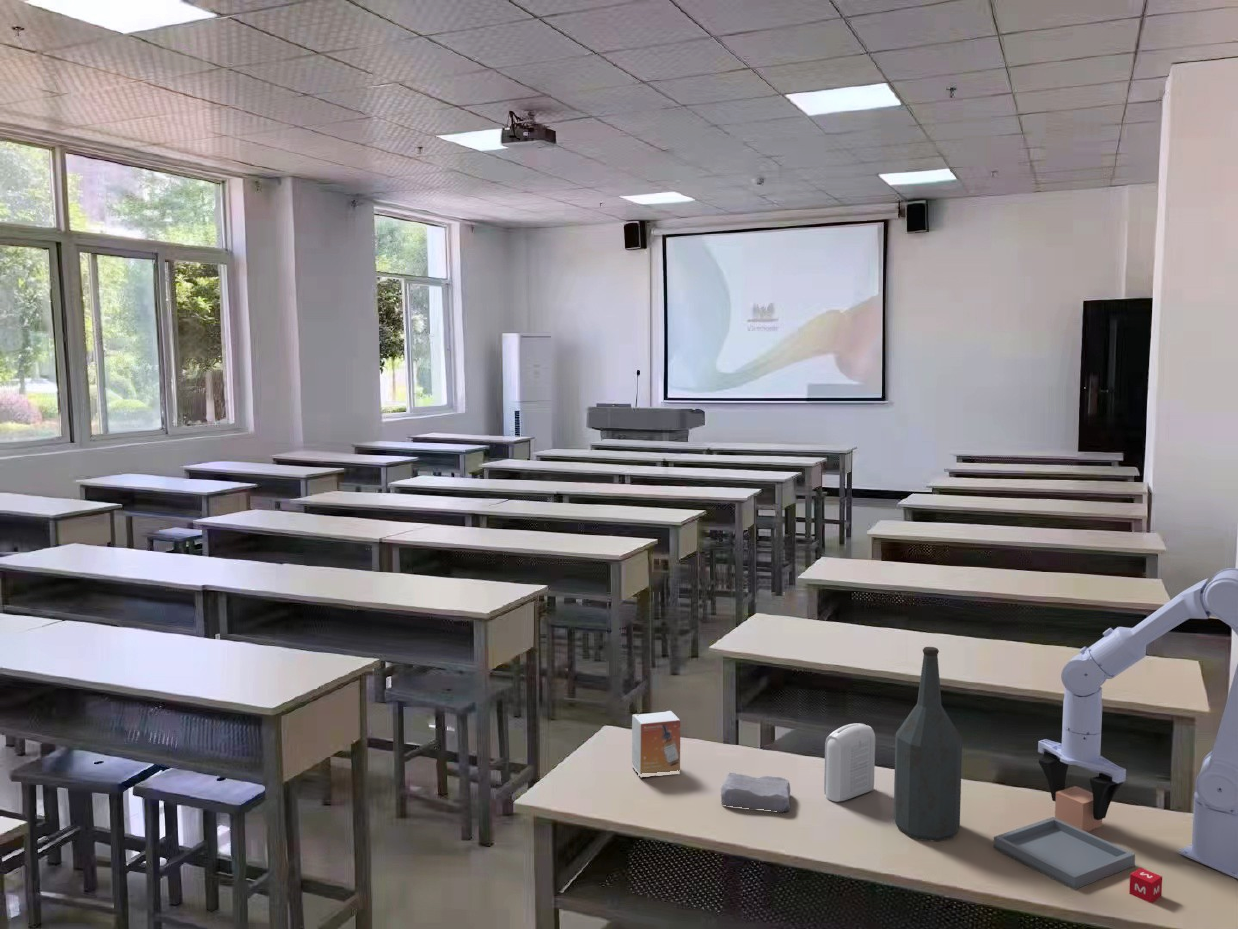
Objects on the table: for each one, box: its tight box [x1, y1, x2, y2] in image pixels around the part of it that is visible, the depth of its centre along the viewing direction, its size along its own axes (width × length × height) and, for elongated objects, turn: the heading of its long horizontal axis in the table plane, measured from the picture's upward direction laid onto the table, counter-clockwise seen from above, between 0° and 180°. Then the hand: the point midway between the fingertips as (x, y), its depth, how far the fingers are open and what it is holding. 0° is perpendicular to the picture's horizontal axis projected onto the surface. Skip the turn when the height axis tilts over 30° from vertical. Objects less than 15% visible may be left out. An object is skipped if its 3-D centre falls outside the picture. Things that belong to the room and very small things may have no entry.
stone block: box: [720, 772, 791, 813], centre depth 165 cm, size 12×5×10 cm
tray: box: [993, 816, 1136, 890], centre depth 145 cm, size 14×14×2 cm
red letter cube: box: [1128, 867, 1163, 904], centre depth 134 cm, size 3×3×3 cm
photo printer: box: [823, 722, 876, 803], centre depth 167 cm, size 10×4×12 cm, turn 126°
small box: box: [631, 710, 681, 774], centre depth 177 cm, size 8×6×10 cm
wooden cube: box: [1054, 785, 1103, 832], centre depth 156 cm, size 5×5×5 cm
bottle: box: [893, 646, 963, 842], centre depth 153 cm, size 10×10×30 cm
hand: (1078, 809), depth 156 cm, fingers open, 7 cm apart
